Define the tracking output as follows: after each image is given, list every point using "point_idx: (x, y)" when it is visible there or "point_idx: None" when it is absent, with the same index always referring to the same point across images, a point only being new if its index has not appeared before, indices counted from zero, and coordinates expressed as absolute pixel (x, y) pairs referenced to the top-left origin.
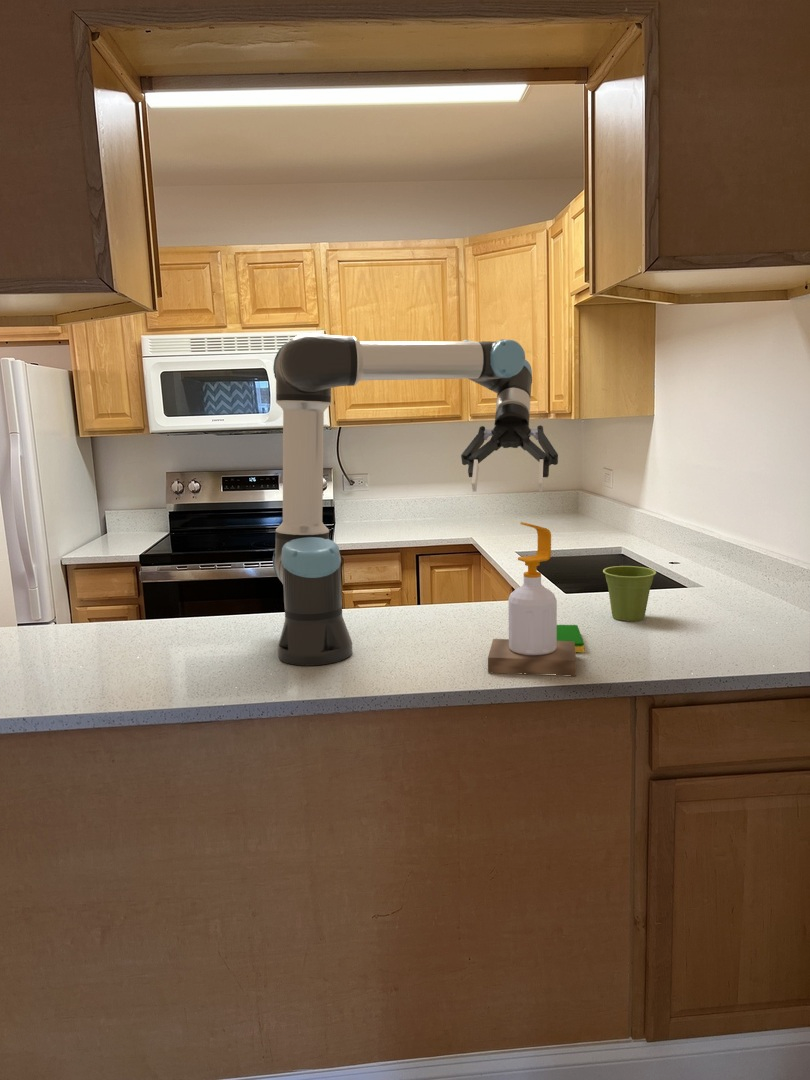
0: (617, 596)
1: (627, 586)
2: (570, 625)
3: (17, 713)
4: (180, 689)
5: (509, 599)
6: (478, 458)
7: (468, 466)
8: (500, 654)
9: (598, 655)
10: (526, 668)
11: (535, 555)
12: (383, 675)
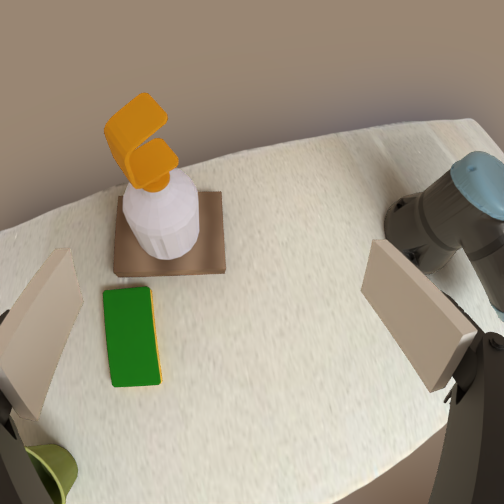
0: (54, 455)
1: (31, 448)
2: (121, 381)
3: (475, 122)
4: (444, 149)
5: (195, 187)
6: (470, 388)
7: (468, 315)
8: (207, 203)
9: (90, 284)
10: None
11: (142, 182)
12: (328, 182)
